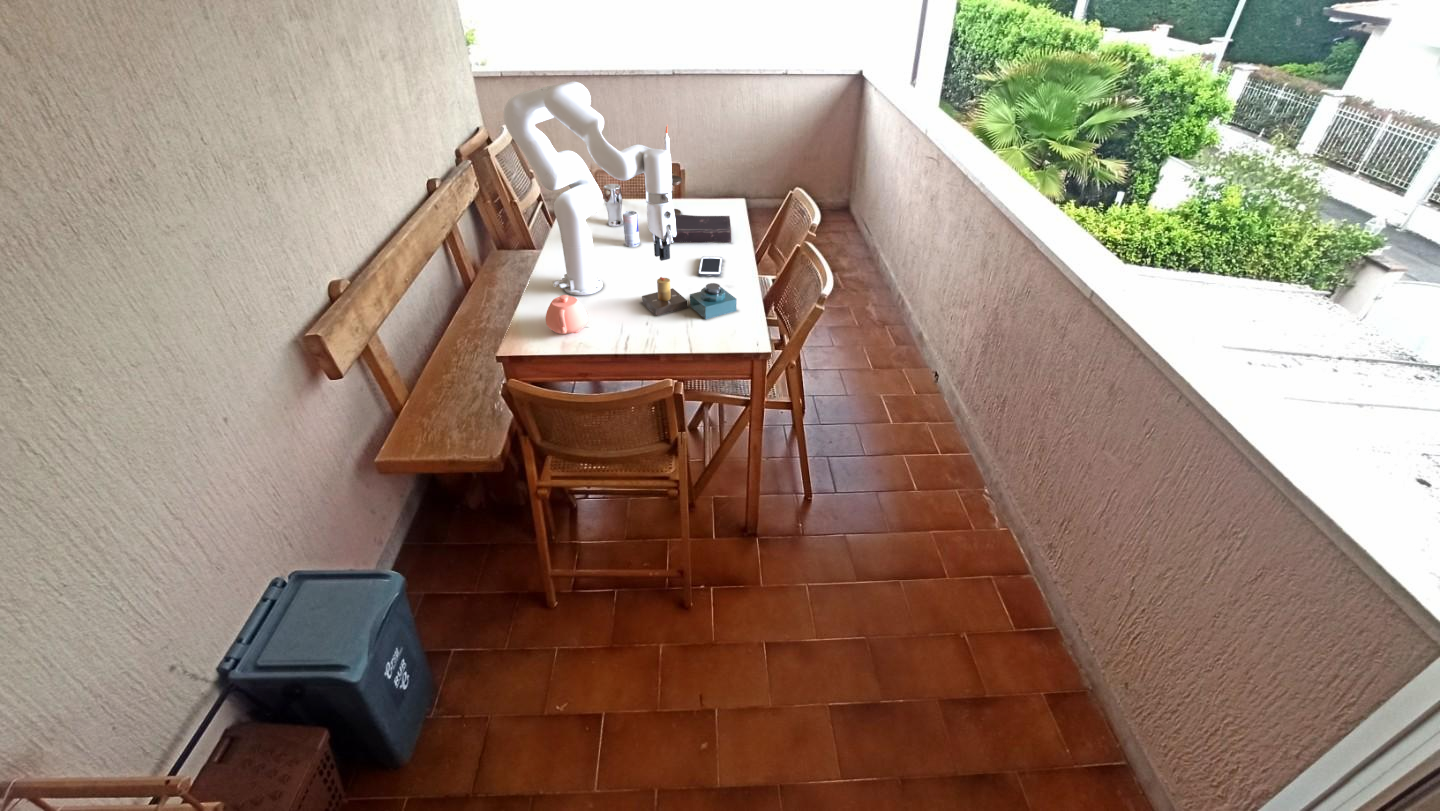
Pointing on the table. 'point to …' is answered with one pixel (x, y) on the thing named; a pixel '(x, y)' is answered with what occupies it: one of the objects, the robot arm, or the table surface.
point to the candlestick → (675, 179)
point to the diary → (702, 229)
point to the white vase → (613, 204)
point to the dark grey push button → (712, 289)
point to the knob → (664, 289)
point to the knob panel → (664, 303)
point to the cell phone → (710, 266)
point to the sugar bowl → (566, 315)
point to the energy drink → (631, 228)
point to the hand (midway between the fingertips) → (662, 257)
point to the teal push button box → (712, 303)
